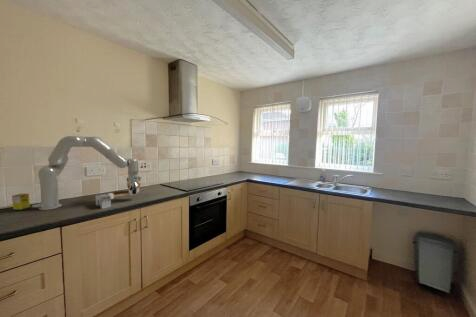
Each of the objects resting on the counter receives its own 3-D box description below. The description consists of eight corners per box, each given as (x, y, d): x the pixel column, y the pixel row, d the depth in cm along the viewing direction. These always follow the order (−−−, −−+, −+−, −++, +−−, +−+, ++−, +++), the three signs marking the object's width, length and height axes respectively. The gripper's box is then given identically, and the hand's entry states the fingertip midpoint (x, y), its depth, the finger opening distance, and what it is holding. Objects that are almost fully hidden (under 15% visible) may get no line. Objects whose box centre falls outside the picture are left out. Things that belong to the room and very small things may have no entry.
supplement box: (29, 207, 146) (29, 193, 145) (21, 210, 140) (20, 195, 139) (21, 207, 146) (20, 193, 145) (12, 210, 140) (11, 195, 139)
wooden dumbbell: (109, 199, 156) (109, 194, 156) (107, 198, 159) (107, 193, 158) (137, 194, 173) (137, 189, 173) (135, 193, 176) (135, 188, 176)
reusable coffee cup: (136, 190, 207) (136, 176, 205) (143, 191, 200) (143, 177, 199) (124, 192, 196) (123, 177, 195) (131, 194, 189) (131, 179, 188)
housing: (102, 208, 148) (101, 198, 147) (95, 204, 156) (95, 194, 156) (111, 206, 153) (110, 196, 152) (104, 203, 161) (104, 193, 161)
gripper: (141, 173, 169) (142, 194, 170) (133, 171, 179) (133, 191, 180) (132, 174, 163) (133, 196, 164) (124, 172, 173) (124, 192, 174)
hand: (133, 193), depth 172 cm, fingers closed on wooden dumbbell, 4 cm apart
